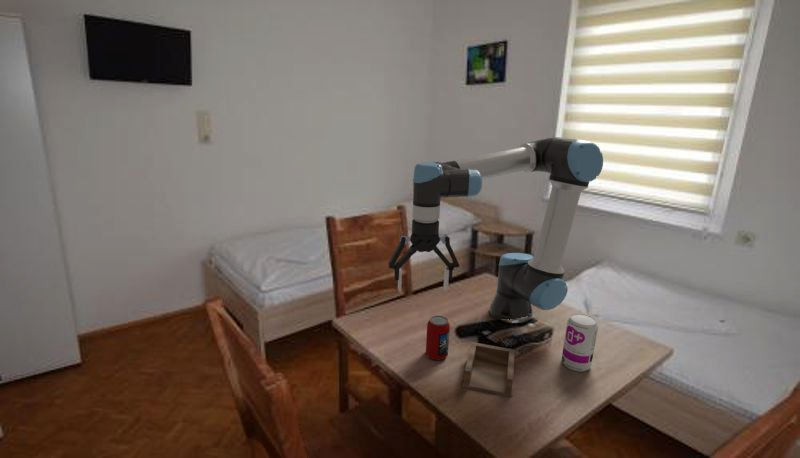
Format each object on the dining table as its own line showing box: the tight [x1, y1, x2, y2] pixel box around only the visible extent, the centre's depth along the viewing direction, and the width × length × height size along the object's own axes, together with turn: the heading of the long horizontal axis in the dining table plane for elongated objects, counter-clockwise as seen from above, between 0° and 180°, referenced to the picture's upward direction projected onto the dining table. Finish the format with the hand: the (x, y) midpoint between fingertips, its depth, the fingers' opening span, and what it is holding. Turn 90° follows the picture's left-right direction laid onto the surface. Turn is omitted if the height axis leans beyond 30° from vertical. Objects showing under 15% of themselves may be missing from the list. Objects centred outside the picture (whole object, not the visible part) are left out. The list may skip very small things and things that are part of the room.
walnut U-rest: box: [462, 342, 516, 398], centre depth 121 cm, size 15×13×5 cm
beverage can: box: [425, 315, 451, 361], centre depth 129 cm, size 7×7×12 cm
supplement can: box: [561, 313, 599, 372], centre depth 126 cm, size 8×8×15 cm
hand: (422, 289), depth 125 cm, fingers open, 13 cm apart
